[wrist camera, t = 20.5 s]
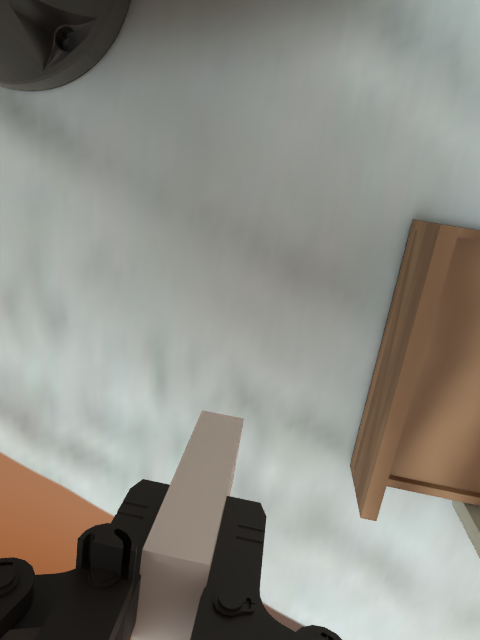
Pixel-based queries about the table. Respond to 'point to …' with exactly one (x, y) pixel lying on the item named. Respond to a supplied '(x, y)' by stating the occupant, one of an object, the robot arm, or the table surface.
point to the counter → (470, 521)
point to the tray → (426, 377)
